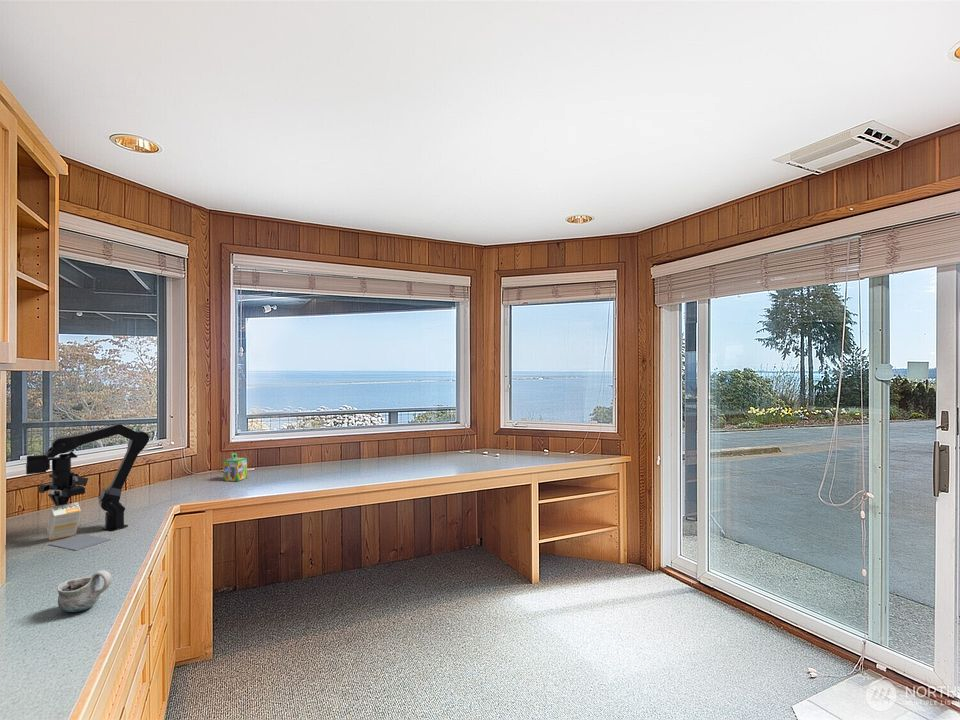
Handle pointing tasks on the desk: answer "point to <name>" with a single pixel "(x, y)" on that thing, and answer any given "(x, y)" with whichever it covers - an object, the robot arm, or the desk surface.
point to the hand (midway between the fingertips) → (62, 512)
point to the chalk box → (234, 468)
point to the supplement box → (63, 521)
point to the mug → (82, 592)
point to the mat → (79, 542)
